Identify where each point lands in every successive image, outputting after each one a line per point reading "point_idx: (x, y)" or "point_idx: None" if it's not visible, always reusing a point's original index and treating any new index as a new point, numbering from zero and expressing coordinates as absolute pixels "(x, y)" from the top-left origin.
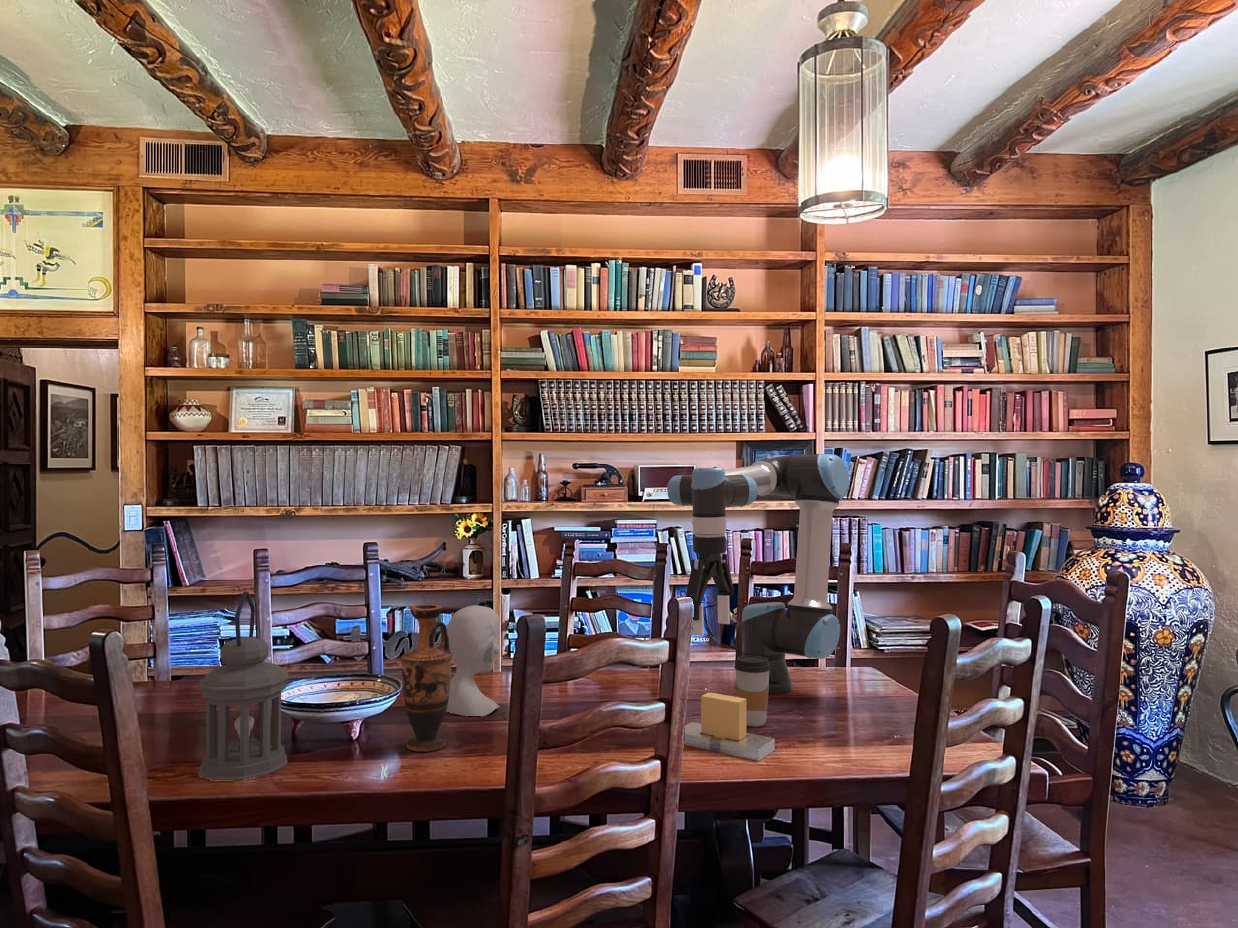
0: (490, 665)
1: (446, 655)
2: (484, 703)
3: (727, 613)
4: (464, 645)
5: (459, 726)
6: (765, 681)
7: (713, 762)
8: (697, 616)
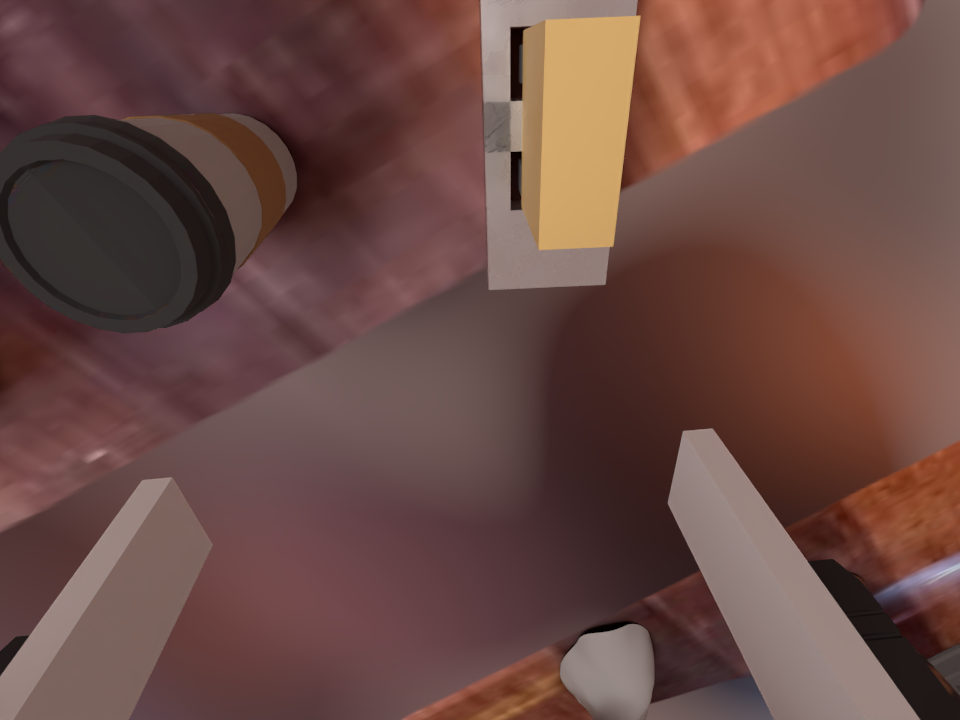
0: None
1: None
2: (624, 650)
3: (116, 572)
4: None
5: (705, 615)
6: (146, 121)
7: (717, 61)
8: (859, 600)
